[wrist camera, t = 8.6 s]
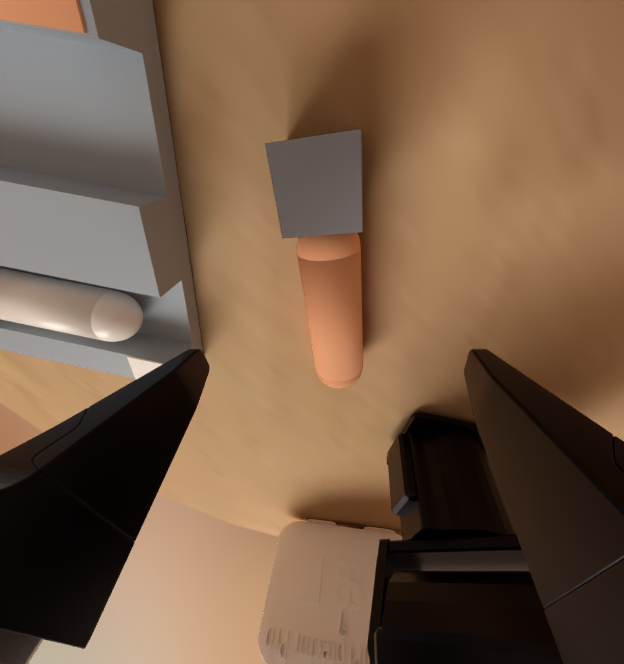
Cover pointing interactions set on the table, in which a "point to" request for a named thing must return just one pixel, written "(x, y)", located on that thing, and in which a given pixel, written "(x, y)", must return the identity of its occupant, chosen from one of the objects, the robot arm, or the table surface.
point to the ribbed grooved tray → (92, 176)
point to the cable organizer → (321, 594)
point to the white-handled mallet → (68, 306)
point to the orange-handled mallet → (325, 242)
